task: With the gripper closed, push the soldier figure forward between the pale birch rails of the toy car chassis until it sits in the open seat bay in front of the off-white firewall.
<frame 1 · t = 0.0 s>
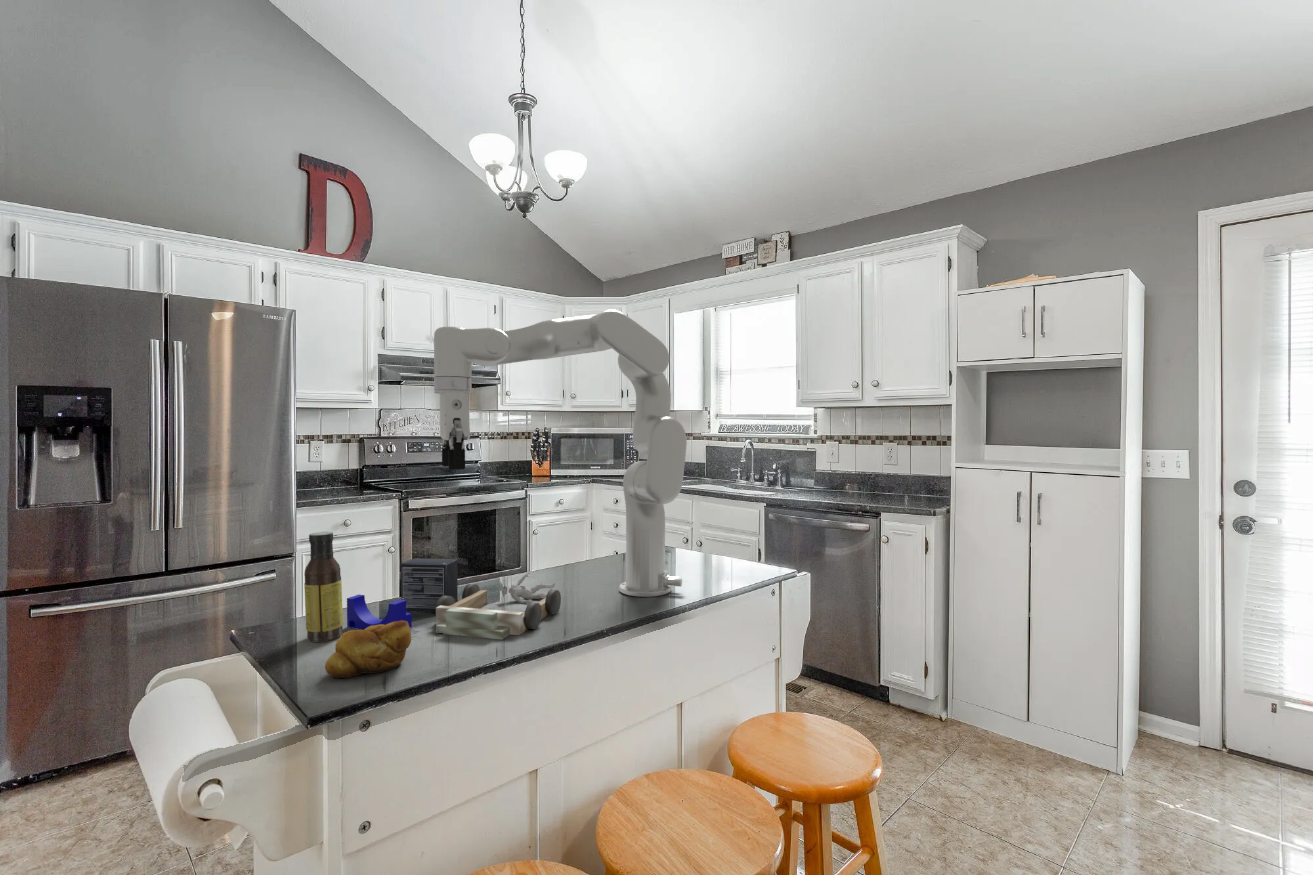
hand: (453, 467, 133), 31 cm above the table, tool pointing down, fingers open, 9 cm apart
small box: (430, 608, 139), on the table
sauce bottle: (324, 638, 119), on the table
soldier figure: (529, 600, 146), on the table
chassis: (500, 616, 132), on the table
bread roll: (367, 670, 104), on the table
blue cradle block: (379, 629, 125), on the table
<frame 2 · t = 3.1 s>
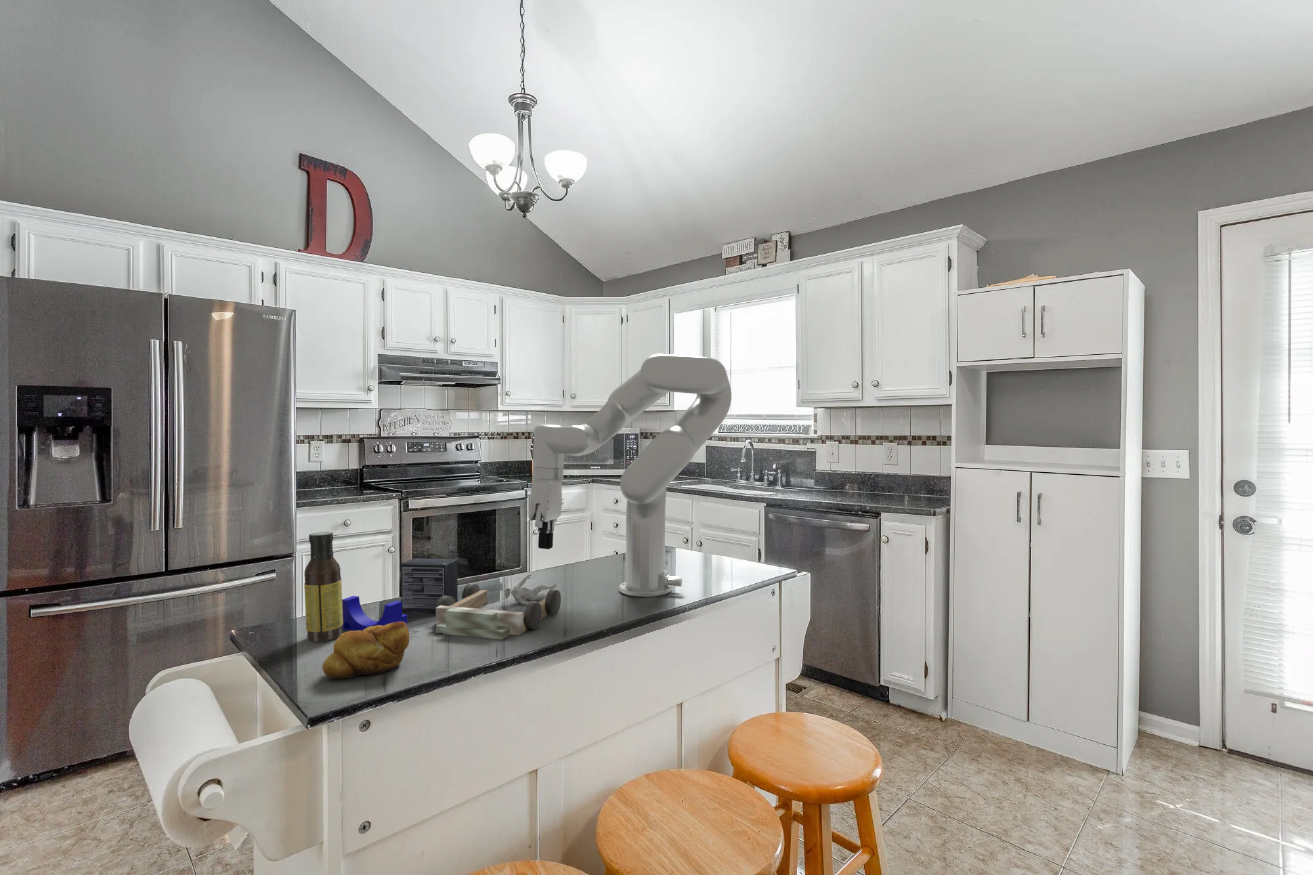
hand: (545, 548, 156), 10 cm above the table, tool pointing down, fingers closed
soldier figure: (531, 602, 144), on the table
blue cradle block: (374, 630, 124), on the table
everything else where it was.
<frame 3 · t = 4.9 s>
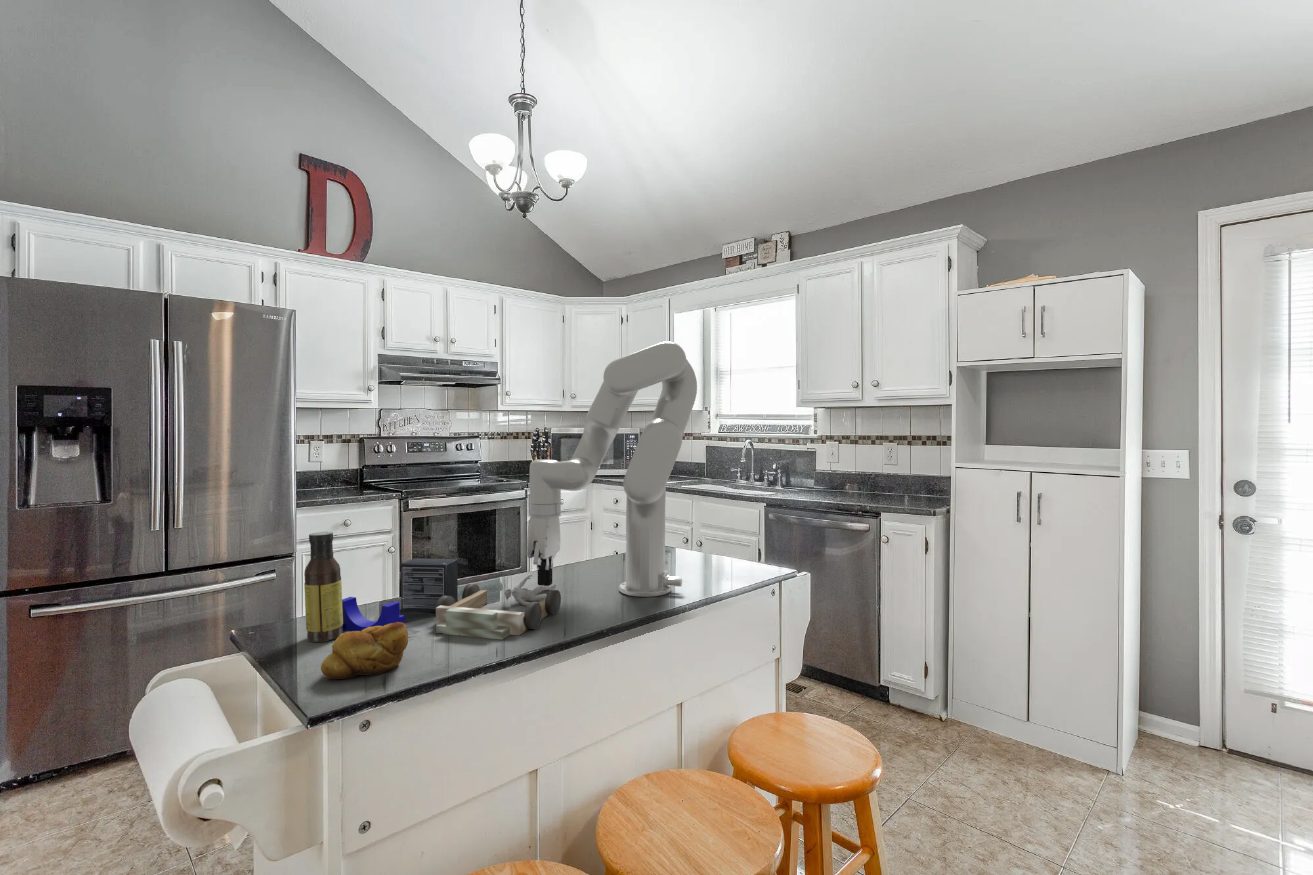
hand: (545, 584, 154), 1 cm above the table, tool pointing down, fingers closed
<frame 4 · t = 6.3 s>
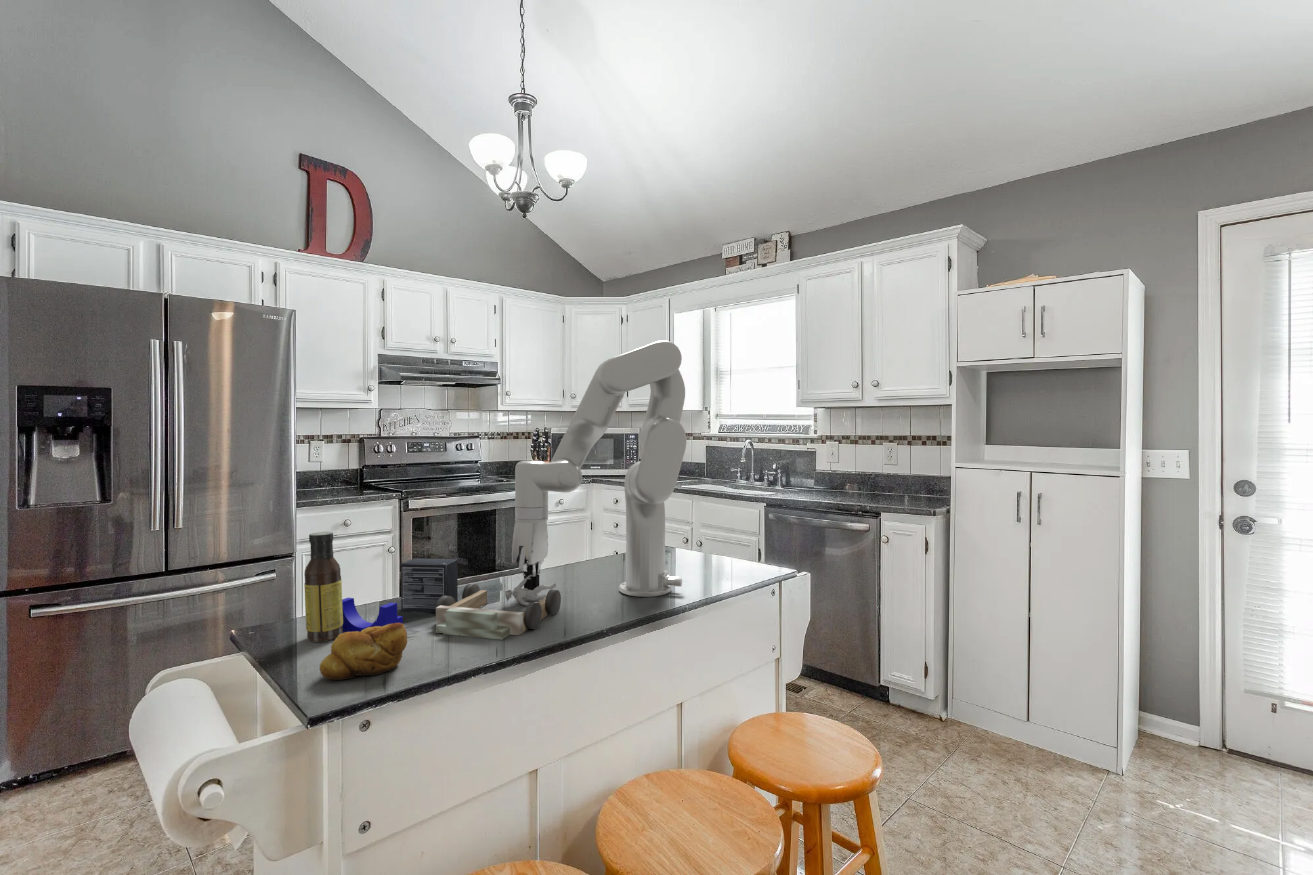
hand: (531, 591, 147), 1 cm above the table, tool pointing down, fingers closed
soldier figure: (532, 602, 144), on the table, touching gripper
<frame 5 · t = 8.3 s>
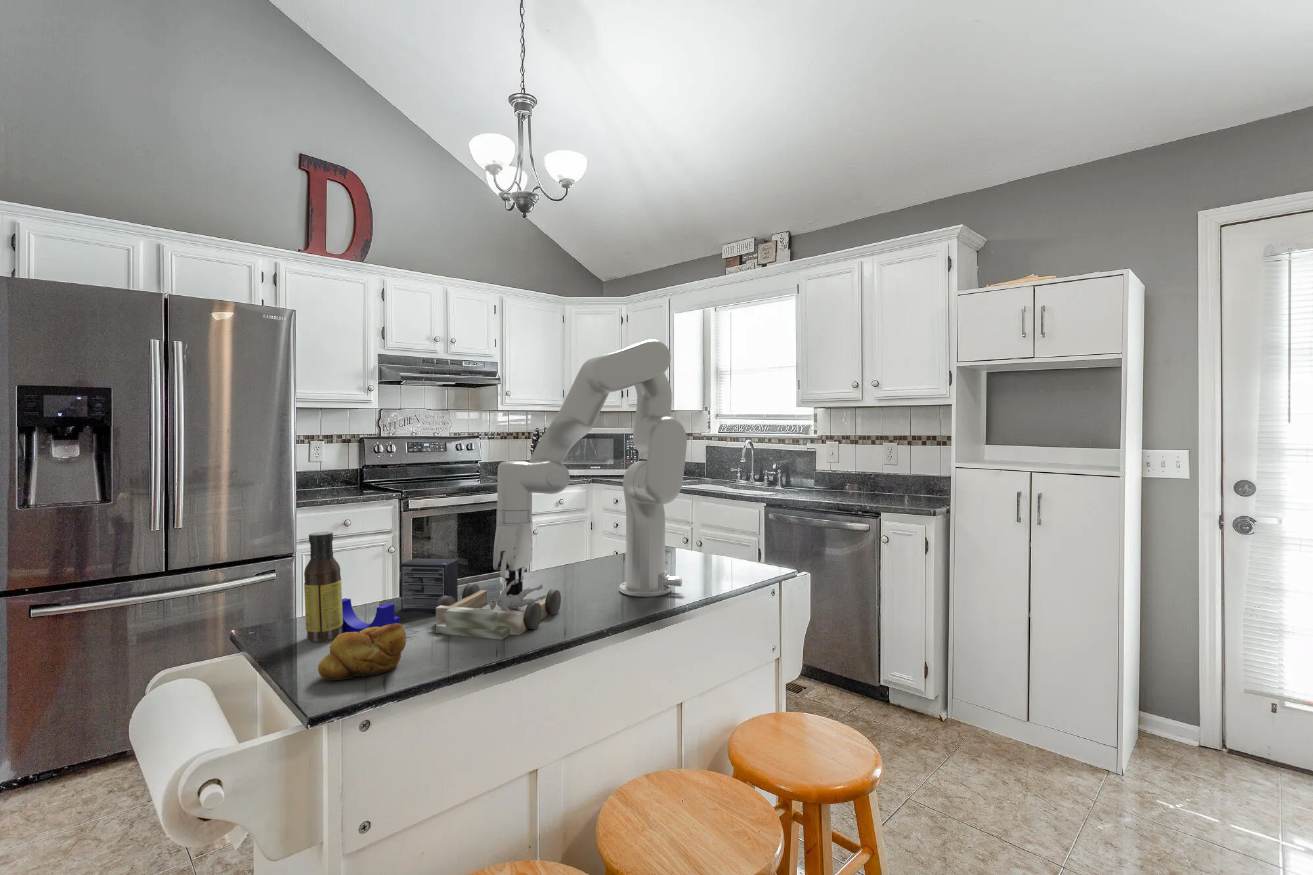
hand: (514, 599, 140), 2 cm above the table, tool pointing down, fingers closed
soldier figure: (518, 607, 137), point 1 cm above the table, touching gripper
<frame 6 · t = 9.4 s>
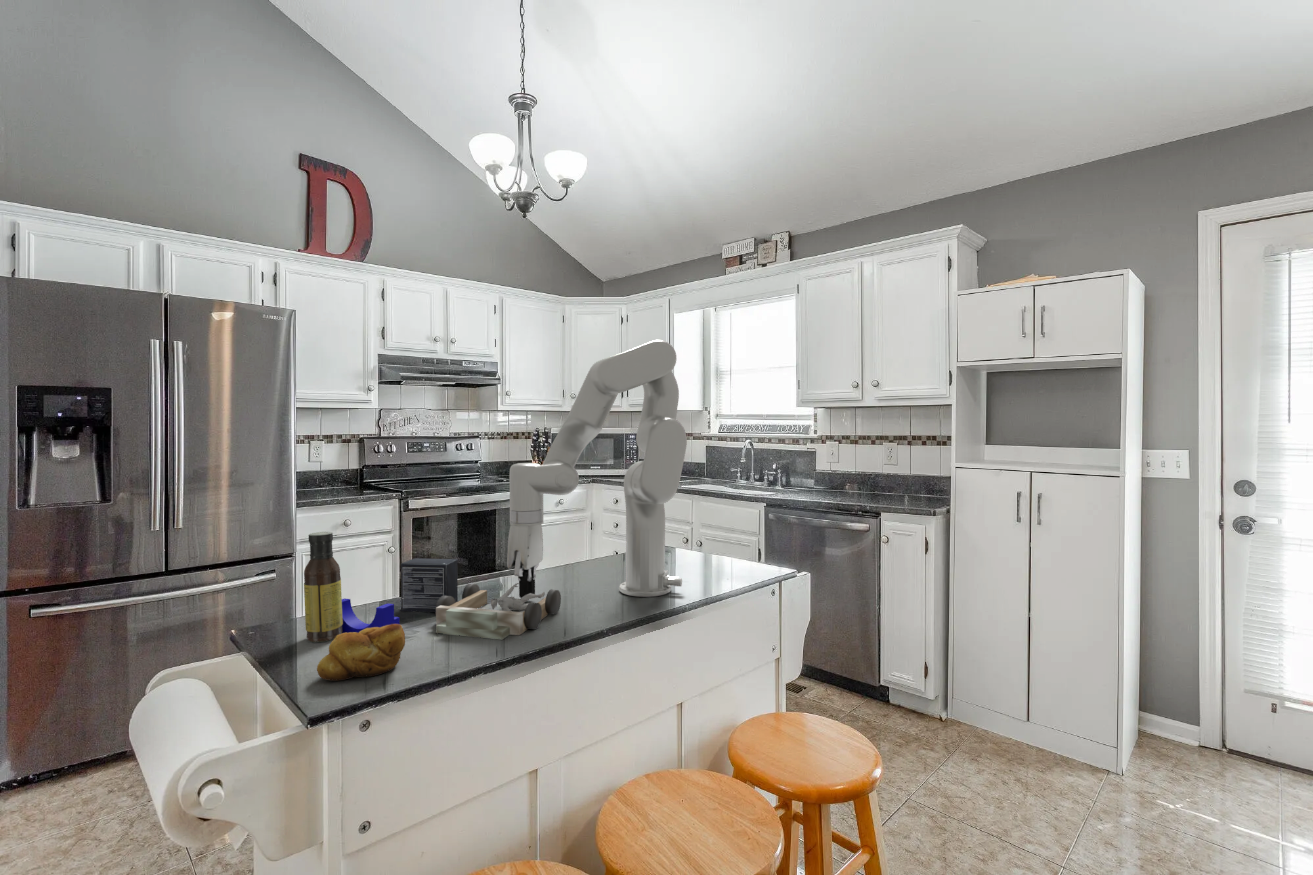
hand: (527, 596, 144), 1 cm above the table, tool pointing down, fingers closed
soldier figure: (519, 612, 137), on the table
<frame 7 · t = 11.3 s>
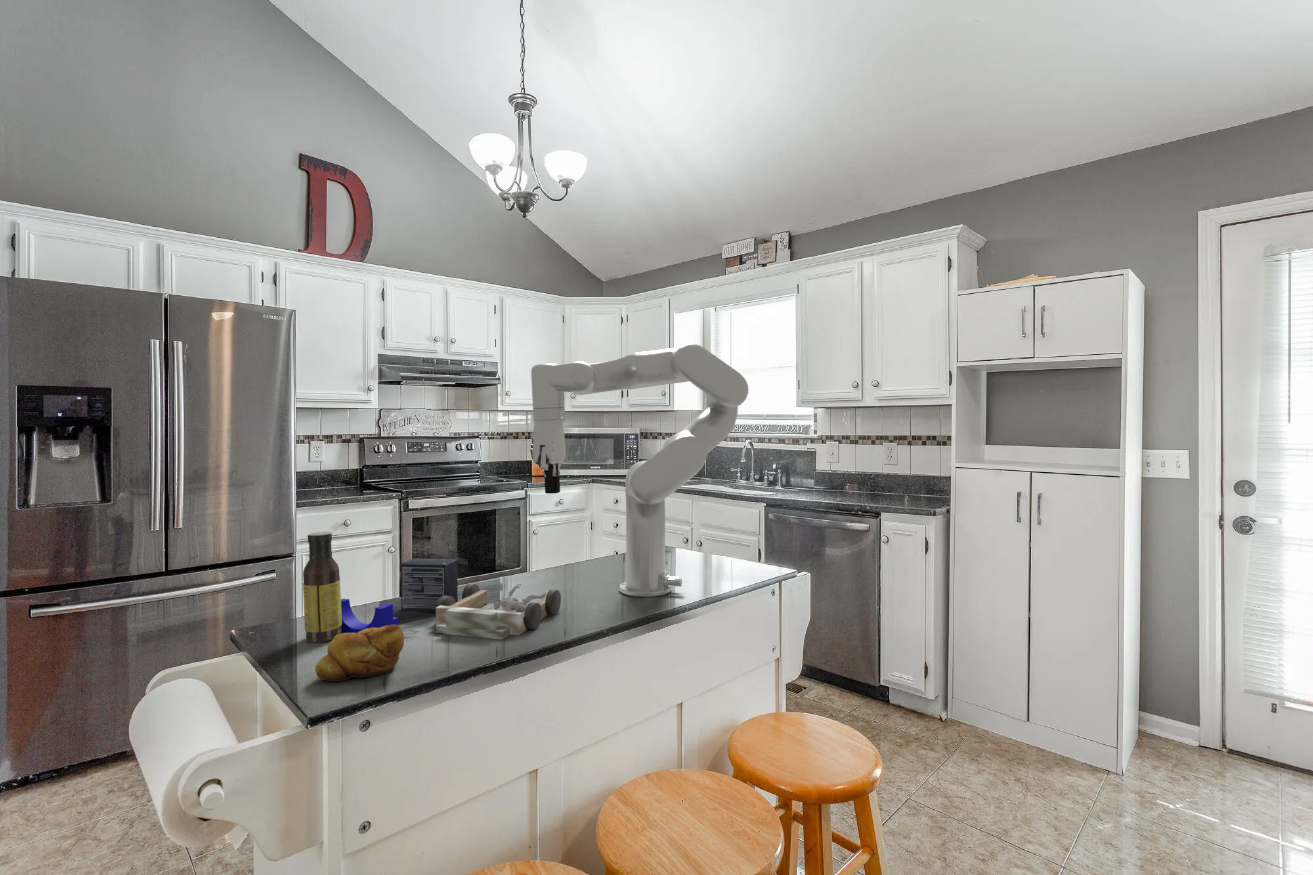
hand: (552, 492, 150), 24 cm above the table, tool pointing down, fingers closed
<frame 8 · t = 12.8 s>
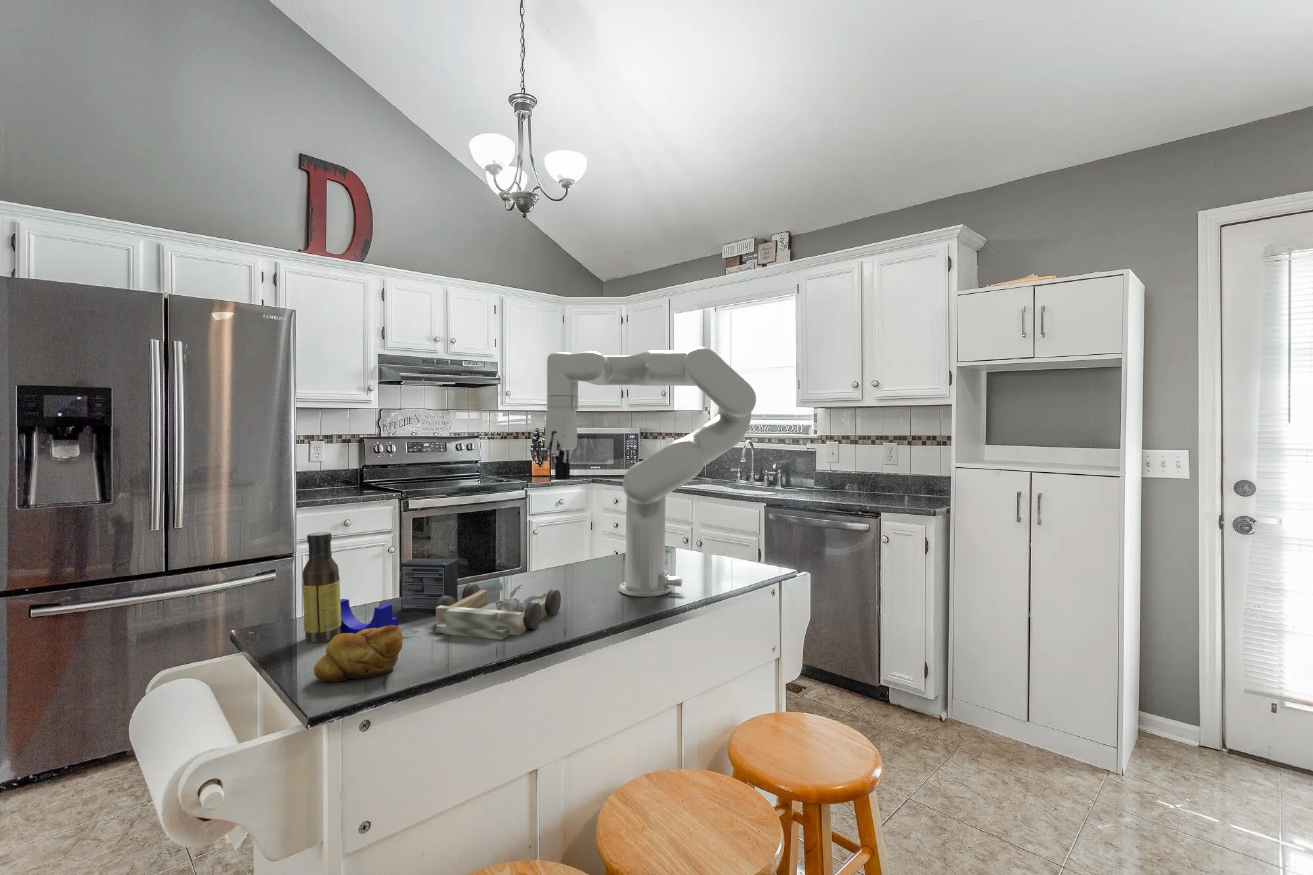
hand: (562, 478, 154), 27 cm above the table, tool pointing down, fingers closed
at the end: soldier figure inside the target area on the chassis (5.5 cm from its centre), point 0.0 cm above the chassis's base; soldier figure moved 10.5 cm from its start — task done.
